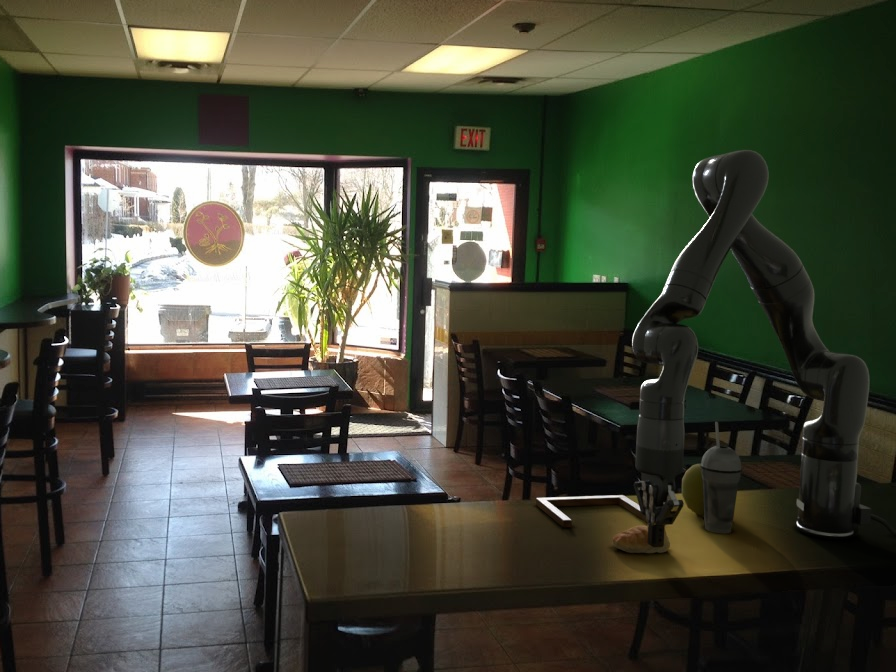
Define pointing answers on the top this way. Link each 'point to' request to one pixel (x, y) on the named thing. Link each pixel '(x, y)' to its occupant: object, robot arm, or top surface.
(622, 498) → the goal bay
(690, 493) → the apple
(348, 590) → the top surface
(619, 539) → the pastry
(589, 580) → the top surface
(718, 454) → the beverage cup
